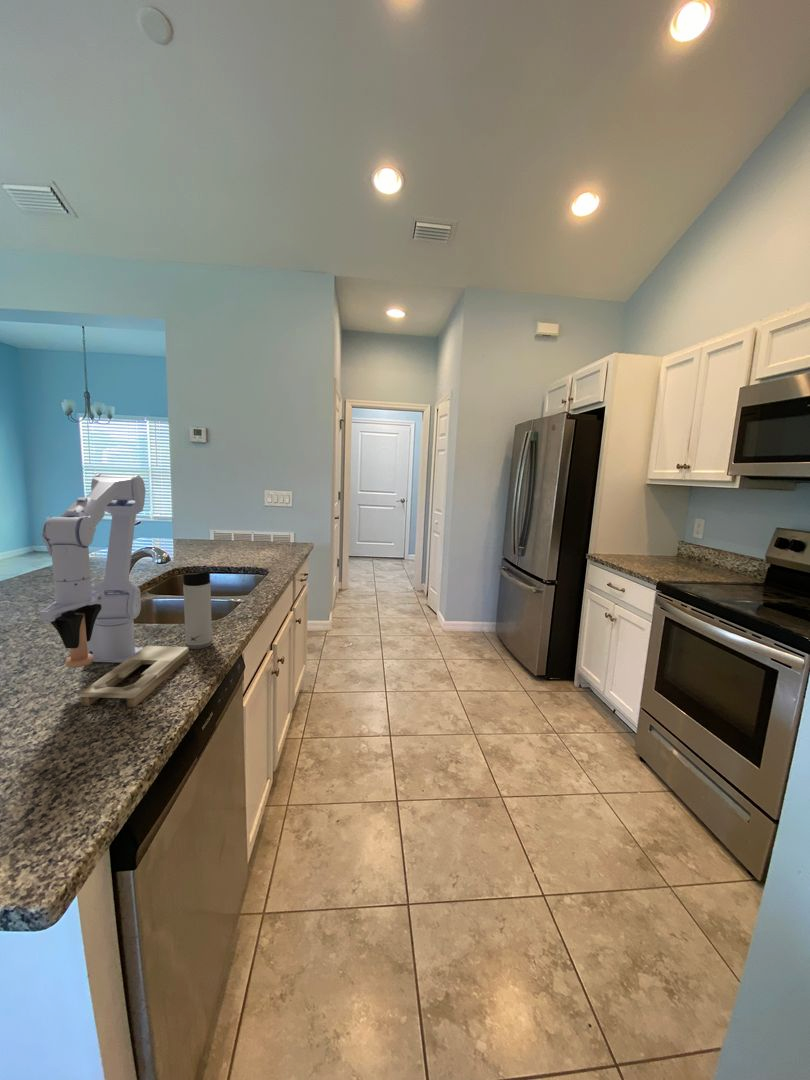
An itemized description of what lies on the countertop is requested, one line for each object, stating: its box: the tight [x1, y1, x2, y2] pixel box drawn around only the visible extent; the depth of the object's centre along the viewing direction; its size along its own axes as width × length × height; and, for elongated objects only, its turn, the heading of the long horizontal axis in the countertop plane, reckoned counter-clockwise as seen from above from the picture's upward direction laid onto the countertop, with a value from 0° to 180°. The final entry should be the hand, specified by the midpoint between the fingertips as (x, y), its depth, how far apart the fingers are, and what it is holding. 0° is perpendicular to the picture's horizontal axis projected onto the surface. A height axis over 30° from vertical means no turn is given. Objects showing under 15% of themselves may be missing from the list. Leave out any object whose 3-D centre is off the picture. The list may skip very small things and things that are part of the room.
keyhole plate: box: [80, 645, 190, 708], centre depth 94 cm, size 10×22×3 cm, turn 1°
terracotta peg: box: [65, 613, 94, 669], centre depth 86 cm, size 4×4×10 cm
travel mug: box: [182, 570, 213, 650], centre depth 111 cm, size 6×7×20 cm
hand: (78, 644), depth 86 cm, fingers closed on terracotta peg, 3 cm apart
